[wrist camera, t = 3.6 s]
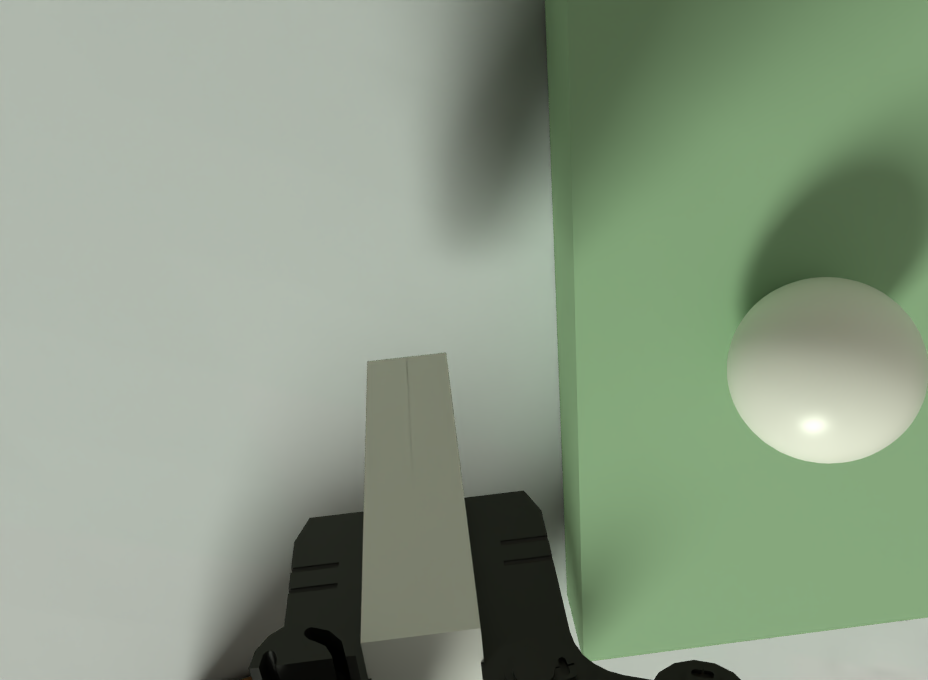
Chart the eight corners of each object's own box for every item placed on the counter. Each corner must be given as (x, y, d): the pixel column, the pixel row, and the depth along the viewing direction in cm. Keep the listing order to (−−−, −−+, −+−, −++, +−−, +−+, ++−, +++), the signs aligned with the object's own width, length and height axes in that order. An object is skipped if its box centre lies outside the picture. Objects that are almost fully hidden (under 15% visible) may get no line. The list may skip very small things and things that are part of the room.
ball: (707, 257, 17) (778, 350, 14) (883, 236, 17) (992, 324, 14) (698, 403, 19) (758, 514, 16) (856, 383, 19) (947, 490, 16)
